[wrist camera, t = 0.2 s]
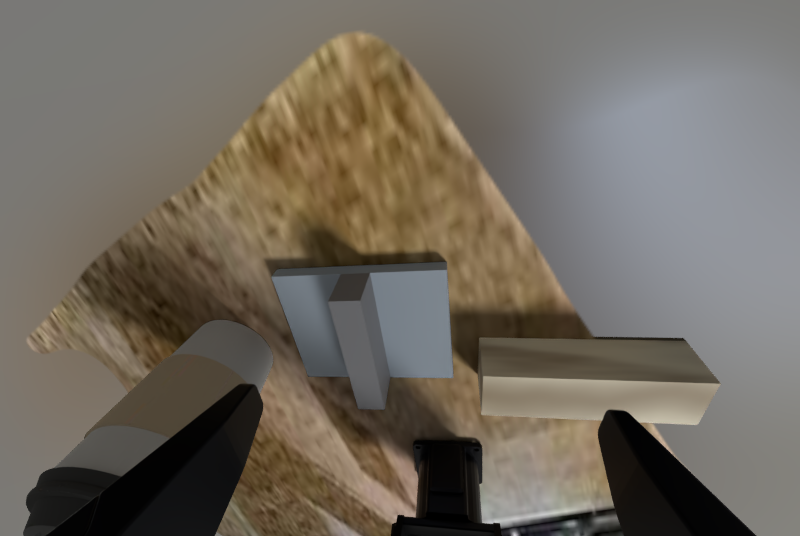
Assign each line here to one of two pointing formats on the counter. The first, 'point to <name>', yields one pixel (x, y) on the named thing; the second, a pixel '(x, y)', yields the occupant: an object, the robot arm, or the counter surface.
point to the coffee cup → (150, 418)
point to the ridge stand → (370, 323)
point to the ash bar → (594, 378)
